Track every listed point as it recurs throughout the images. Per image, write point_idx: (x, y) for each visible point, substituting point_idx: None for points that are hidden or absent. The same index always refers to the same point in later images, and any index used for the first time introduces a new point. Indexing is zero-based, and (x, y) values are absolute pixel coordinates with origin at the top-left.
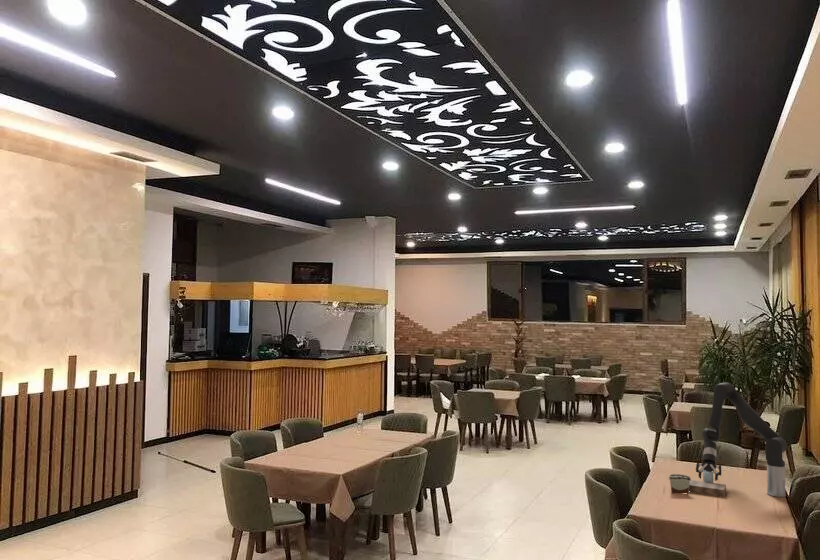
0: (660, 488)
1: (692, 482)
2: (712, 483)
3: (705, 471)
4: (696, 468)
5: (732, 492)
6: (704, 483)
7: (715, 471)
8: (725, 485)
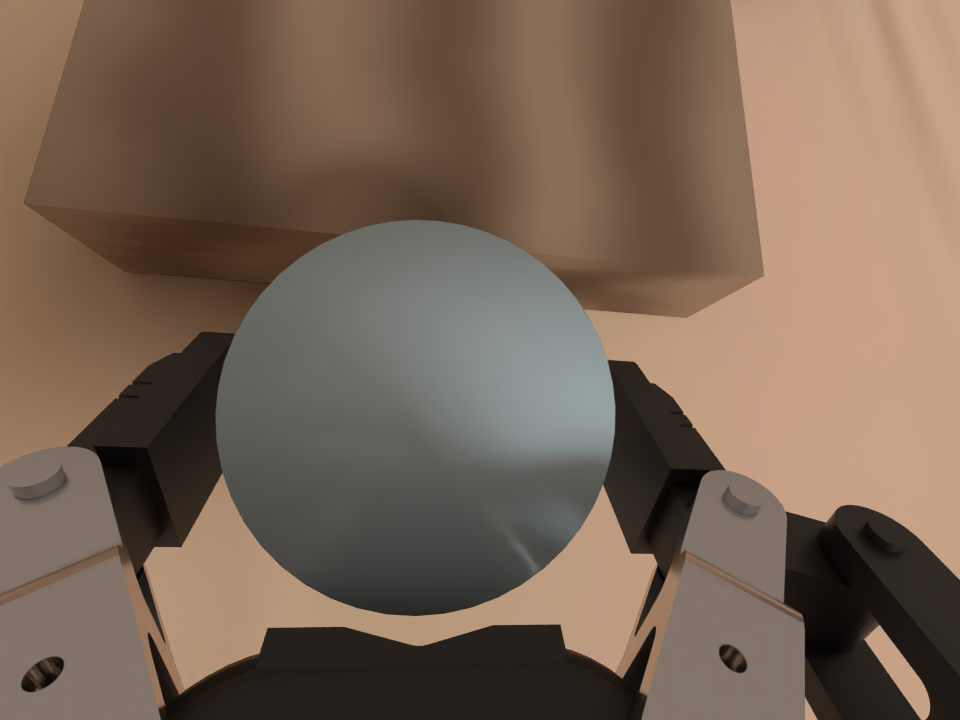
0: (925, 49)
1: (678, 91)
2: (331, 177)
3: (535, 456)
4: (932, 574)
5: (6, 263)
6: (483, 108)
7: (61, 542)
8: (51, 124)
